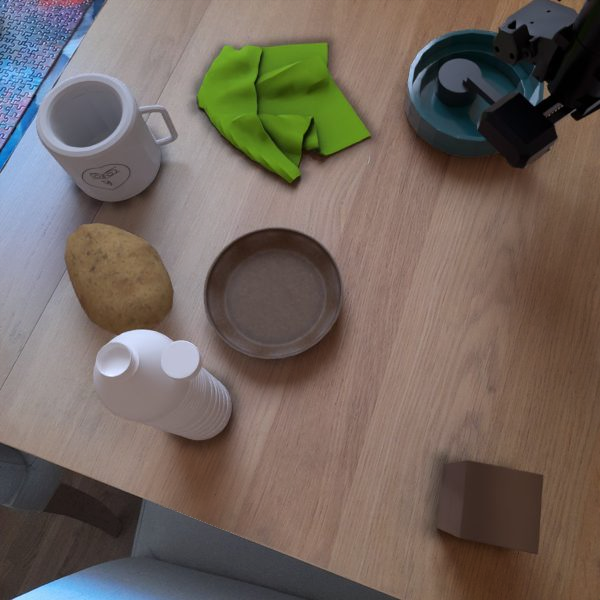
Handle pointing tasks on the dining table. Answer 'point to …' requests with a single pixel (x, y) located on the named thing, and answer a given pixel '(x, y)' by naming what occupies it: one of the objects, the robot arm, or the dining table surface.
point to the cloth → (279, 104)
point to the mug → (101, 136)
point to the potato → (118, 278)
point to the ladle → (463, 84)
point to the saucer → (273, 293)
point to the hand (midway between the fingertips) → (542, 140)
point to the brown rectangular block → (491, 505)
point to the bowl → (464, 119)
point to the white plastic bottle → (161, 385)
